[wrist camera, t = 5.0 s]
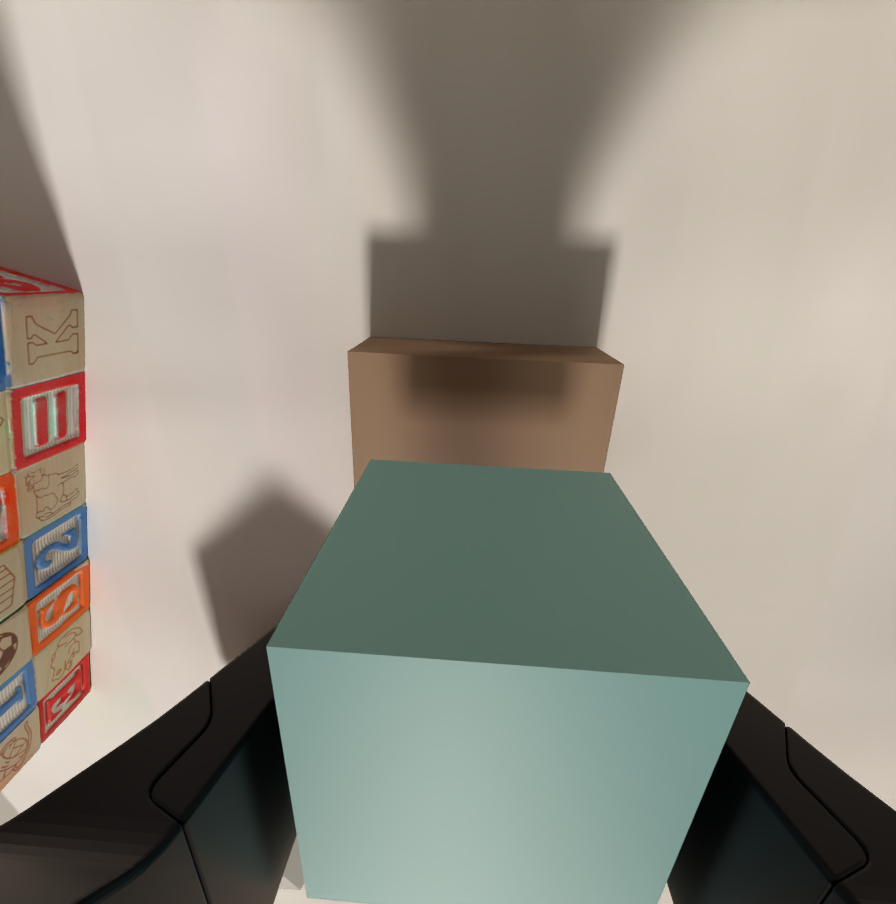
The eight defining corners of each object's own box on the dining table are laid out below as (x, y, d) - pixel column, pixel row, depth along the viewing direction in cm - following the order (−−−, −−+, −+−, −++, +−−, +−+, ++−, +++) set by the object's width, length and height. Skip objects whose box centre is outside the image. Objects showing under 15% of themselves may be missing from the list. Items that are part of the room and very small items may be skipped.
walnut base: (596, 347, 15) (624, 365, 13) (564, 541, 18) (580, 588, 16) (370, 337, 16) (347, 351, 13) (375, 529, 19) (358, 574, 16)
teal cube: (609, 472, 9) (749, 682, 4) (574, 653, 11) (646, 931, 6) (370, 459, 9) (265, 646, 5) (376, 638, 11) (306, 898, 7)
